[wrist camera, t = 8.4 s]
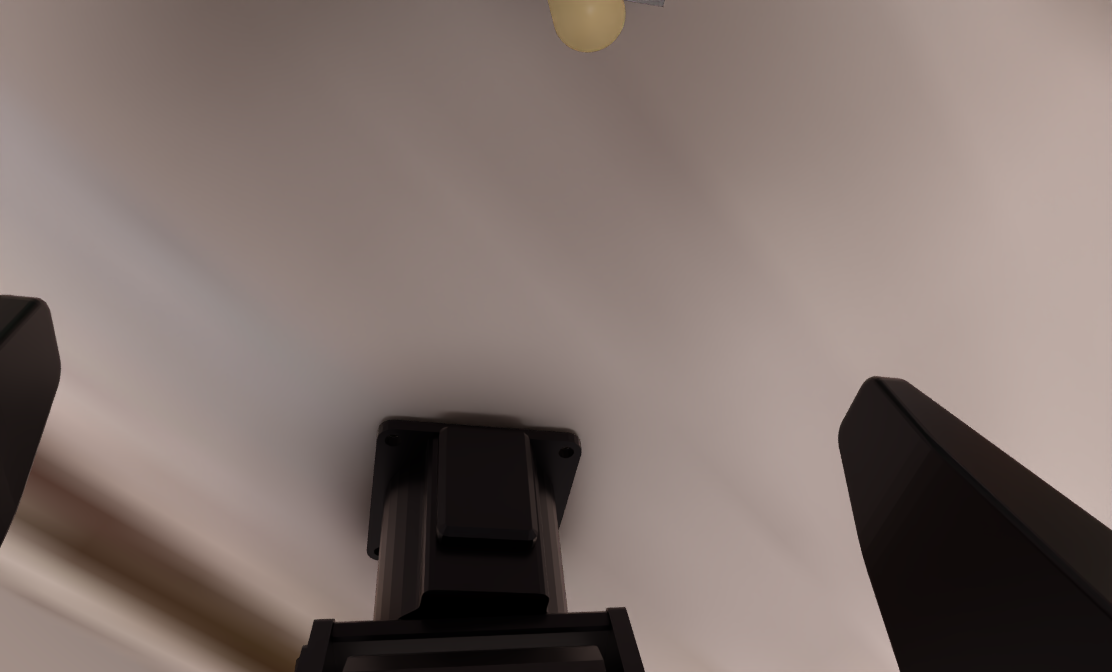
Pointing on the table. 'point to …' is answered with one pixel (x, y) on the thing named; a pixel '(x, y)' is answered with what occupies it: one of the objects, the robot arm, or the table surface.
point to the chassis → (590, 21)
